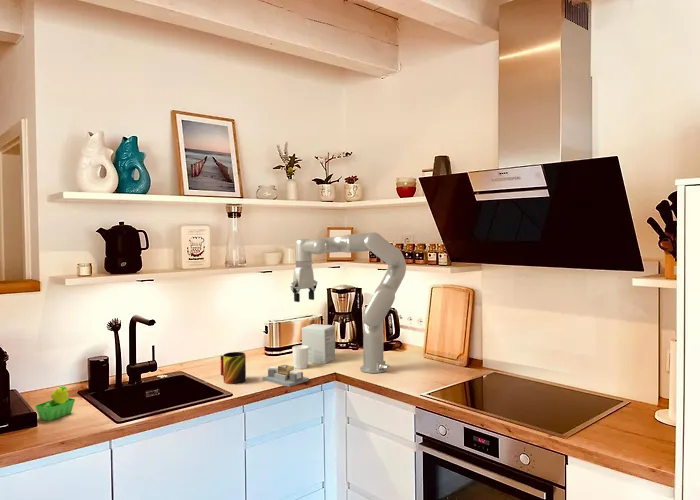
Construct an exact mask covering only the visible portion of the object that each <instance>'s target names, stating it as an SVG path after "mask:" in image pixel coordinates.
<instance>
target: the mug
mask: <svg viewBox="0 0 700 500" xmlns="http://www.w3.org/2000/svg"><path fill="white" fill-rule="evenodd" d="M246 358H247V357H246V353H245V352H241V351H231V352H227V353H224V354H223V355H220V375H221V376H223V383H224V384H225V385H240V384H243V383H245V382H246V381H247V377H246V376H247V375H246V374H247V370H246V369H247V368H246V367H247V366H246V363H247V362H246Z"/></svg>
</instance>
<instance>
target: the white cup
mask: <svg viewBox="0 0 700 500" xmlns="http://www.w3.org/2000/svg"><path fill="white" fill-rule="evenodd" d="M291 349H292V350H291V351H292V362H293V367H294V369H295V370H296V369H297V370H303V369H308V367H309V365H308V363H309V362H308V350H309V347H308V346H305V345H302V344H300V345H294V346H292V347H291Z"/></svg>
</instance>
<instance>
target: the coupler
mask: <svg viewBox="0 0 700 500" xmlns="http://www.w3.org/2000/svg"><path fill="white" fill-rule="evenodd" d="M277 367H278V374H282V375H286V376H287V380H288V379H290V371H293V370H295V368H294V365H293V366H292V365H289V364H281V365H278V366H277Z"/></svg>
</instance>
